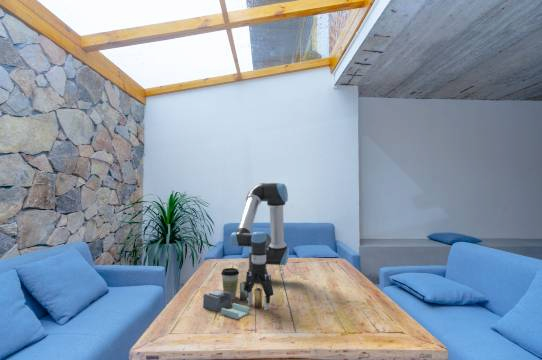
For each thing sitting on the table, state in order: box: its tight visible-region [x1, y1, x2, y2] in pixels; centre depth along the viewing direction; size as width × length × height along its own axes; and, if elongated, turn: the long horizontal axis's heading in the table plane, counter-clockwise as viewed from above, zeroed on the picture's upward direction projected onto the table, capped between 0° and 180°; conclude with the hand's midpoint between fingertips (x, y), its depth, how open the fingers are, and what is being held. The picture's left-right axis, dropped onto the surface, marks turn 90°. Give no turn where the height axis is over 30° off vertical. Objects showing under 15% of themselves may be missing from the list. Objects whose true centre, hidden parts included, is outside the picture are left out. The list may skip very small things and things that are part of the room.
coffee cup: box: [221, 267, 240, 300], centre depth 174 cm, size 10×10×15 cm
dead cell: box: [239, 281, 248, 302], centre depth 170 cm, size 4×4×10 cm
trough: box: [220, 302, 251, 320], centre depth 151 cm, size 9×10×3 cm
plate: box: [208, 289, 226, 297], centre depth 160 cm, size 6×6×2 cm
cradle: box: [202, 288, 232, 313], centre depth 160 cm, size 10×10×6 cm
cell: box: [253, 287, 263, 310], centre depth 159 cm, size 4×4×10 cm
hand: (258, 307), depth 159 cm, fingers open, 9 cm apart
